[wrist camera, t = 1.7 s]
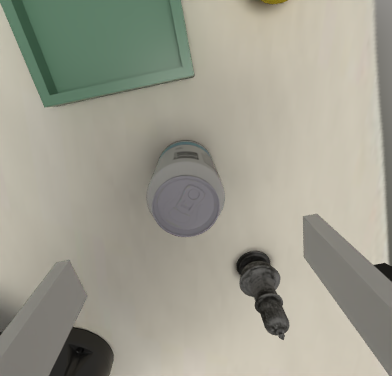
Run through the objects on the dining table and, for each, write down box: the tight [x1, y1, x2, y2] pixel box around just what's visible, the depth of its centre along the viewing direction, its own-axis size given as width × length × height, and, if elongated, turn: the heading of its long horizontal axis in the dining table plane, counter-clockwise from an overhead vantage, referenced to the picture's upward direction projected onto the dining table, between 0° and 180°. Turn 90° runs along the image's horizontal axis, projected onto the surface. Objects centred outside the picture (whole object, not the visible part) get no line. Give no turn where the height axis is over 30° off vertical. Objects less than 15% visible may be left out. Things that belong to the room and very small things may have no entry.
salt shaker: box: [237, 251, 289, 340], centre depth 31 cm, size 6×6×12 cm
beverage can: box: [147, 141, 225, 237], centre depth 24 cm, size 7×7×12 cm
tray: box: [0, 0, 194, 107], centre depth 23 cm, size 16×14×2 cm
